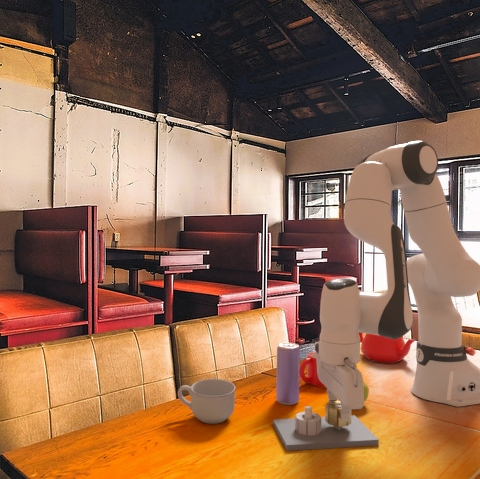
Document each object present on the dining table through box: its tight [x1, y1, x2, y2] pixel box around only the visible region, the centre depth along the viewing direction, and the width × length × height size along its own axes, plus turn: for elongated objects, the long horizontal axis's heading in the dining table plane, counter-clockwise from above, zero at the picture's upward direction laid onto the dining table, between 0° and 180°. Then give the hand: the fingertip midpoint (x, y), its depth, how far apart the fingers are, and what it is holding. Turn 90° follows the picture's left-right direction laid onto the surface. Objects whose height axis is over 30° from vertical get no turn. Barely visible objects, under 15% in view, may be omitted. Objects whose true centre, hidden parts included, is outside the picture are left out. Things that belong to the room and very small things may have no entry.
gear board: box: [272, 405, 380, 452], centre depth 105 cm, size 20×13×6 cm, turn 98°
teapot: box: [359, 332, 417, 364], centre depth 166 cm, size 25×16×12 cm, turn 32°
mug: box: [299, 351, 326, 387], centre depth 141 cm, size 8×12×8 cm, turn 125°
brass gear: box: [324, 400, 352, 427], centre depth 106 cm, size 5×5×4 cm
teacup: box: [177, 378, 237, 425], centre depth 114 cm, size 14×11×8 cm
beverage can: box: [275, 342, 301, 406], centre depth 125 cm, size 6×6×15 cm
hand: (338, 413), depth 106 cm, fingers closed on brass gear, 5 cm apart
